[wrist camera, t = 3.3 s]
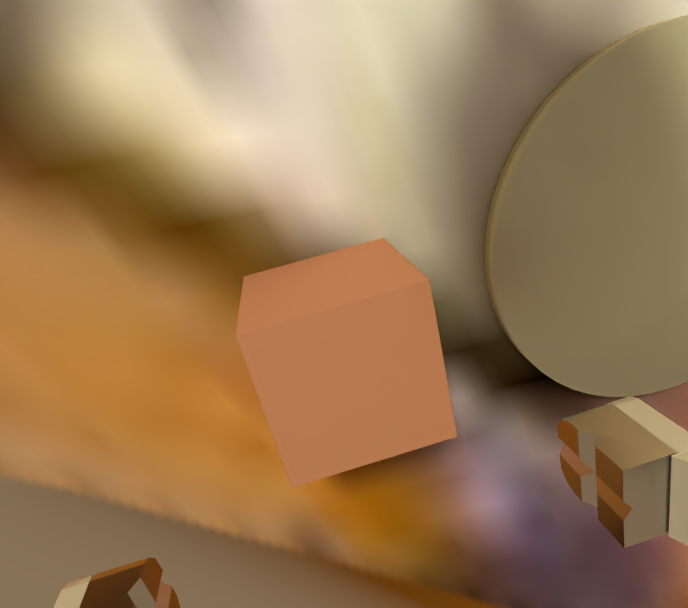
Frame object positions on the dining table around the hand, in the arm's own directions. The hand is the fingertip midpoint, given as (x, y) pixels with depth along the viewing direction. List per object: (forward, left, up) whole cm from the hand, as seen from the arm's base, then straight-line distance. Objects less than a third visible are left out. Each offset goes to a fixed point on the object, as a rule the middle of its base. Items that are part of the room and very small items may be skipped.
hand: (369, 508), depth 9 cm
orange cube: (-1, 0, -9) cm, 9 cm away
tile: (-14, 0, -9) cm, 16 cm away
